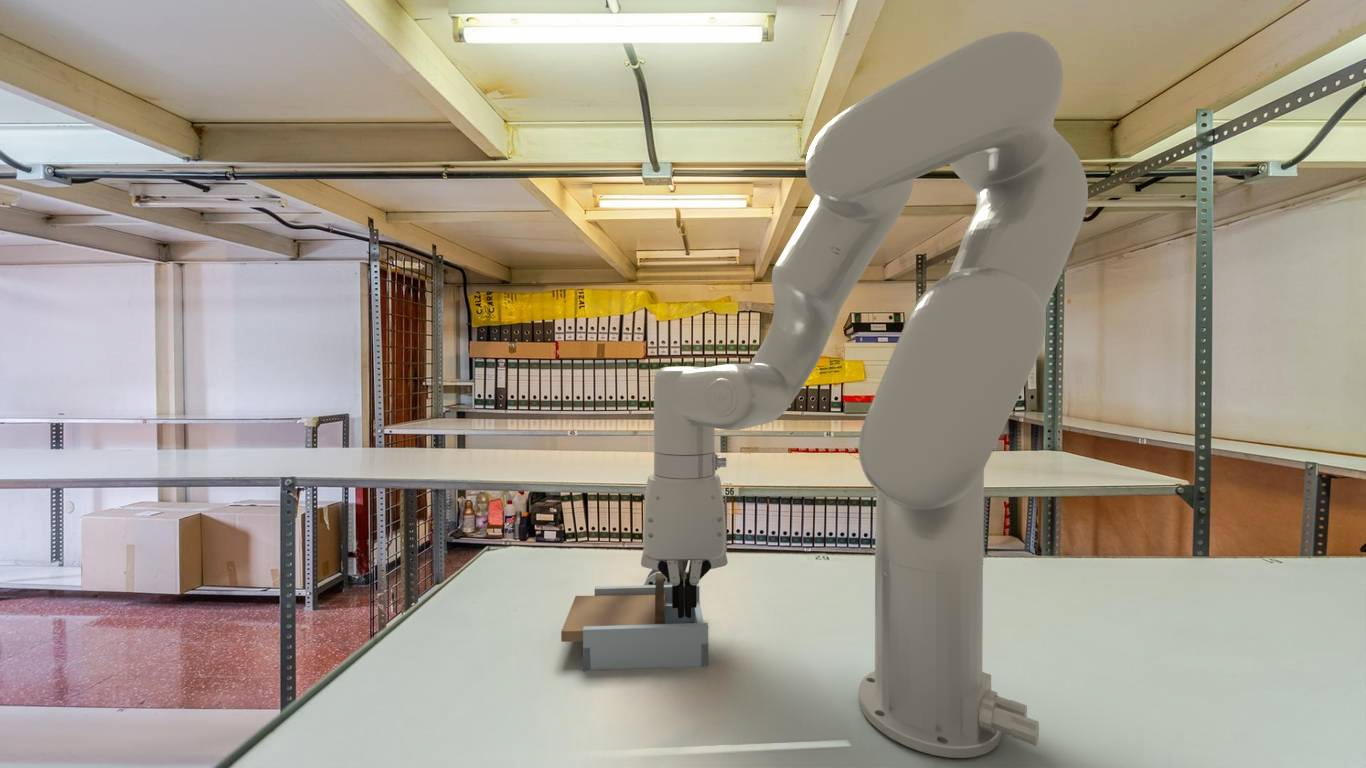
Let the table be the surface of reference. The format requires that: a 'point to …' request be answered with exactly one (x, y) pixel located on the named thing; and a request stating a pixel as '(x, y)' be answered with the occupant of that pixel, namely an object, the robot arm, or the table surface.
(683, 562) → the flashlight
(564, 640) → the cover plate
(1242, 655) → the table surface
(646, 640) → the light grey open box
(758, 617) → the table surface
